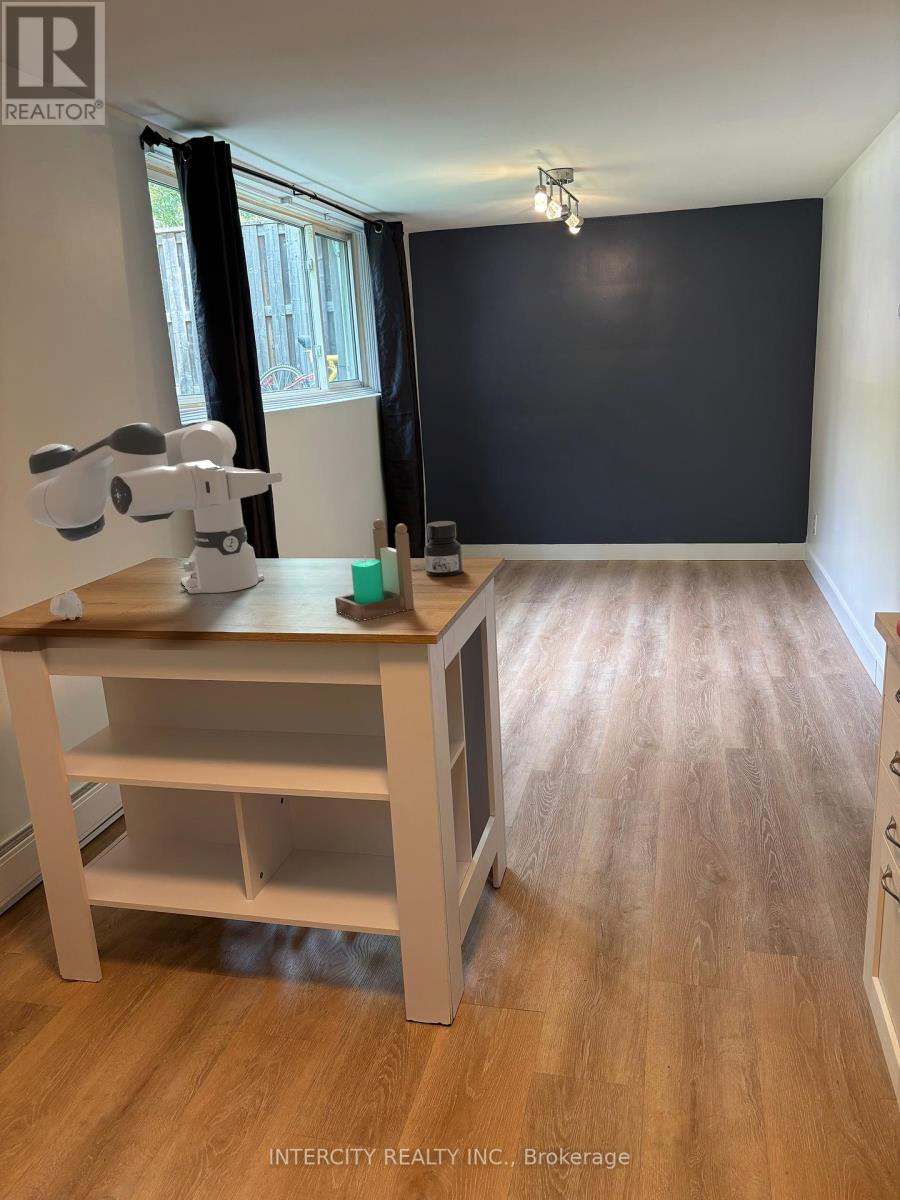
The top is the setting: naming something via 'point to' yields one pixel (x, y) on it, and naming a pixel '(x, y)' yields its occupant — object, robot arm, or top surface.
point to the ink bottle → (443, 550)
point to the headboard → (394, 561)
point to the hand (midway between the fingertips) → (270, 474)
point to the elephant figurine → (66, 604)
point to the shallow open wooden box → (370, 606)
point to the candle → (367, 581)
